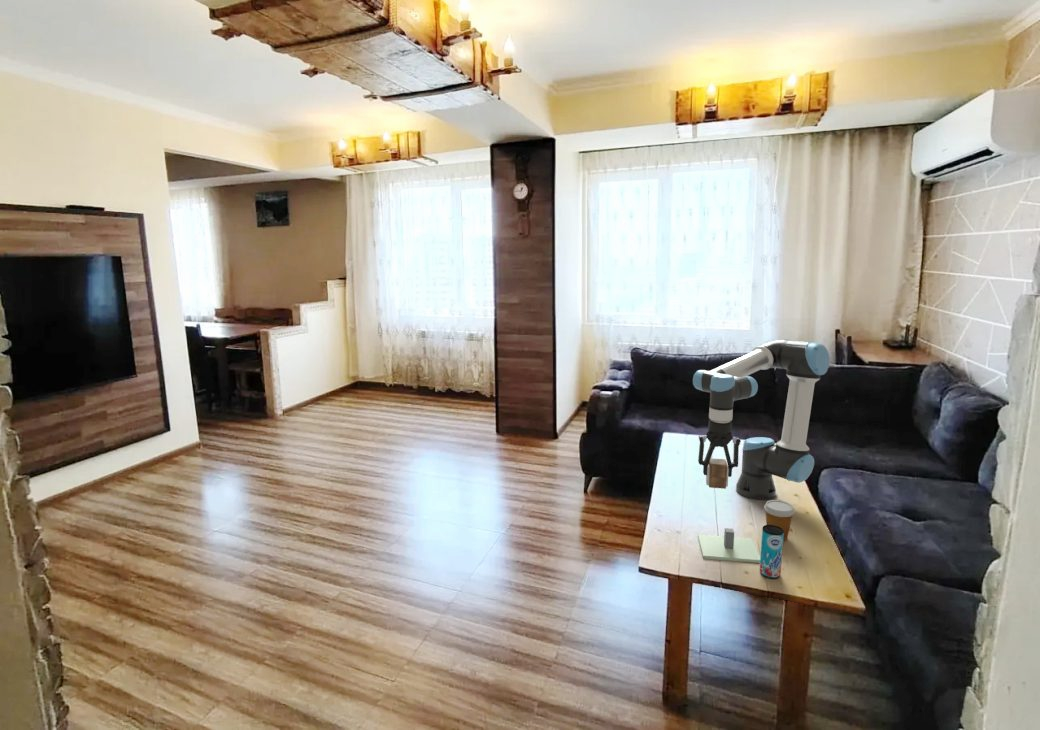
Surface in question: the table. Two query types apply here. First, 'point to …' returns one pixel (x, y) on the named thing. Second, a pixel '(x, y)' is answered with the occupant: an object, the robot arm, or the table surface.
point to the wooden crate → (717, 473)
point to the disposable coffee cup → (779, 515)
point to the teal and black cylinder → (771, 551)
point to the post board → (729, 554)
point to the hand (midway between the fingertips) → (716, 484)
